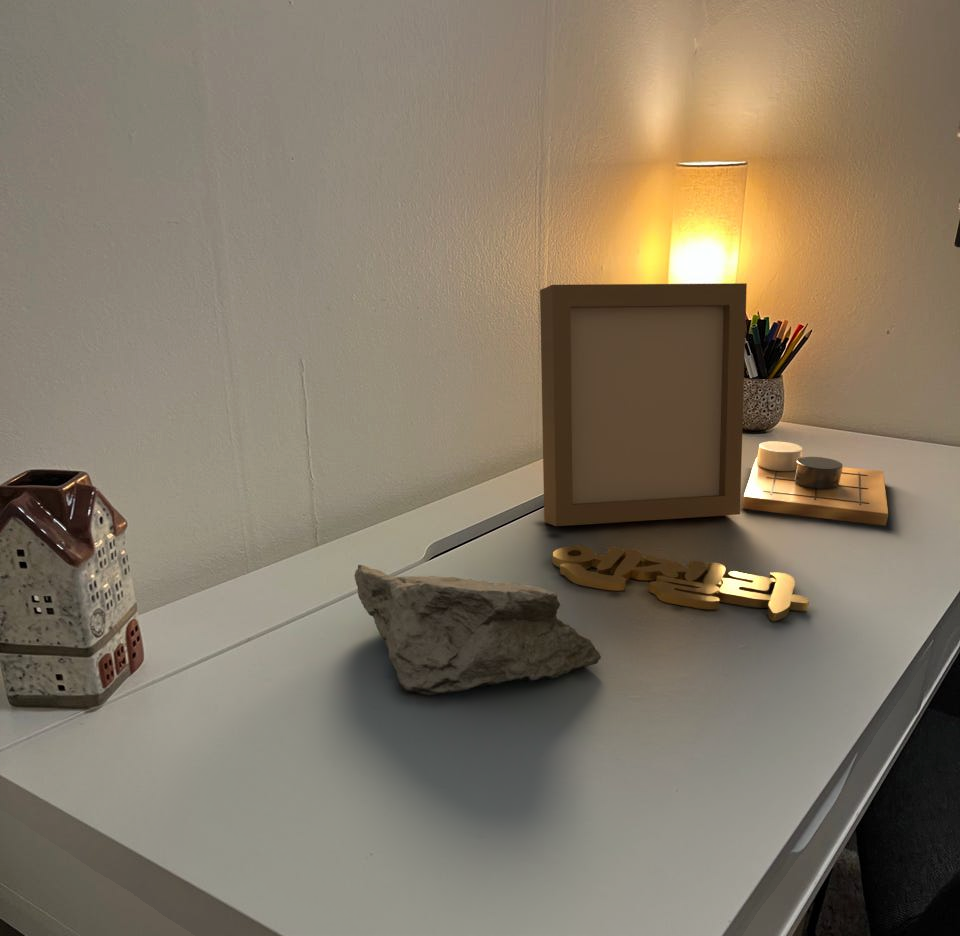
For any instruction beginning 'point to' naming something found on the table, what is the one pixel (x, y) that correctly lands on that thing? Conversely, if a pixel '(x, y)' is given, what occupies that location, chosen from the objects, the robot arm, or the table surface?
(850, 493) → the game board
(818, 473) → the black stone
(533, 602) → the fossil stone
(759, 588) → the lettering
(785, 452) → the white stone
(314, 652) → the table surface
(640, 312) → the photo frame
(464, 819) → the table surface
